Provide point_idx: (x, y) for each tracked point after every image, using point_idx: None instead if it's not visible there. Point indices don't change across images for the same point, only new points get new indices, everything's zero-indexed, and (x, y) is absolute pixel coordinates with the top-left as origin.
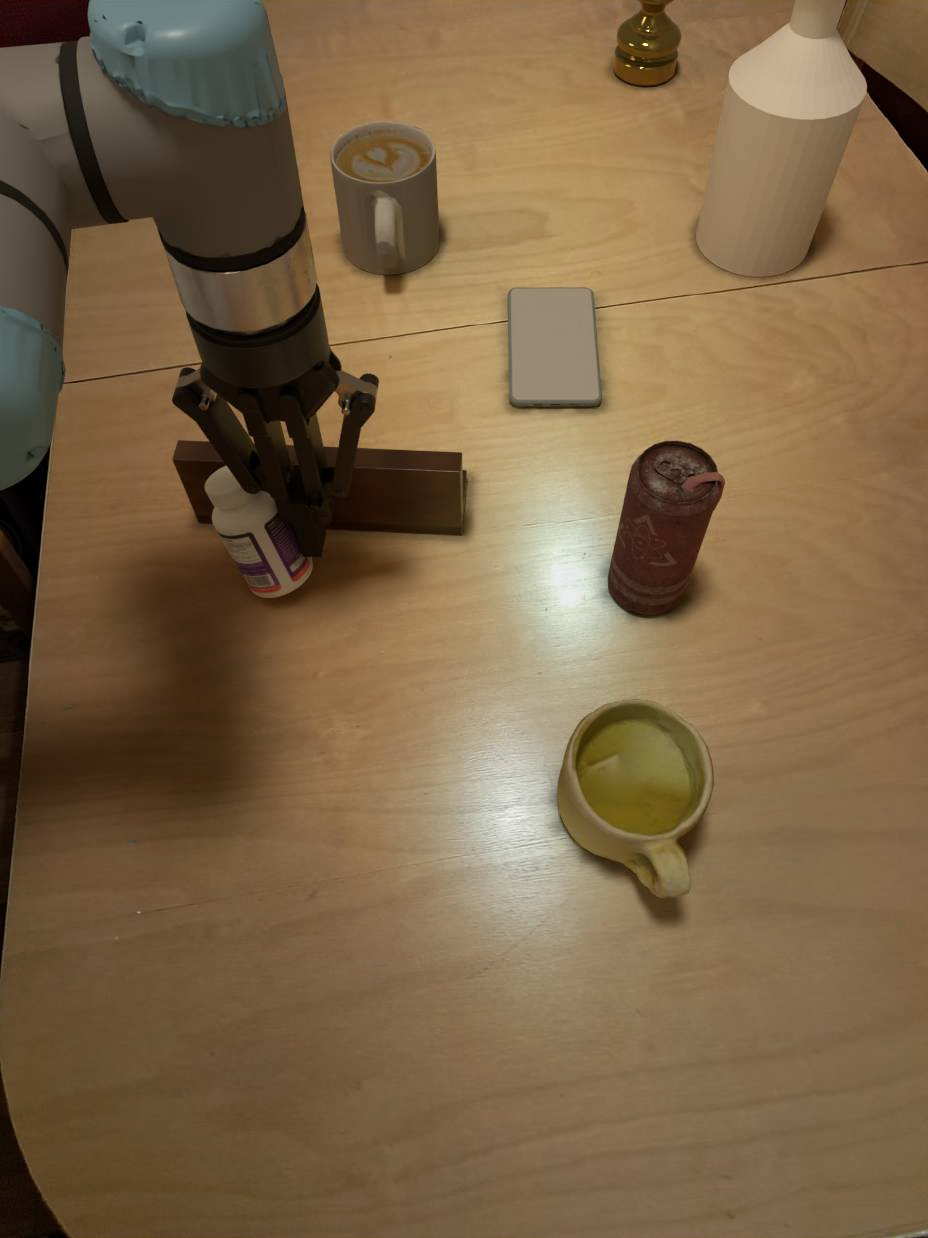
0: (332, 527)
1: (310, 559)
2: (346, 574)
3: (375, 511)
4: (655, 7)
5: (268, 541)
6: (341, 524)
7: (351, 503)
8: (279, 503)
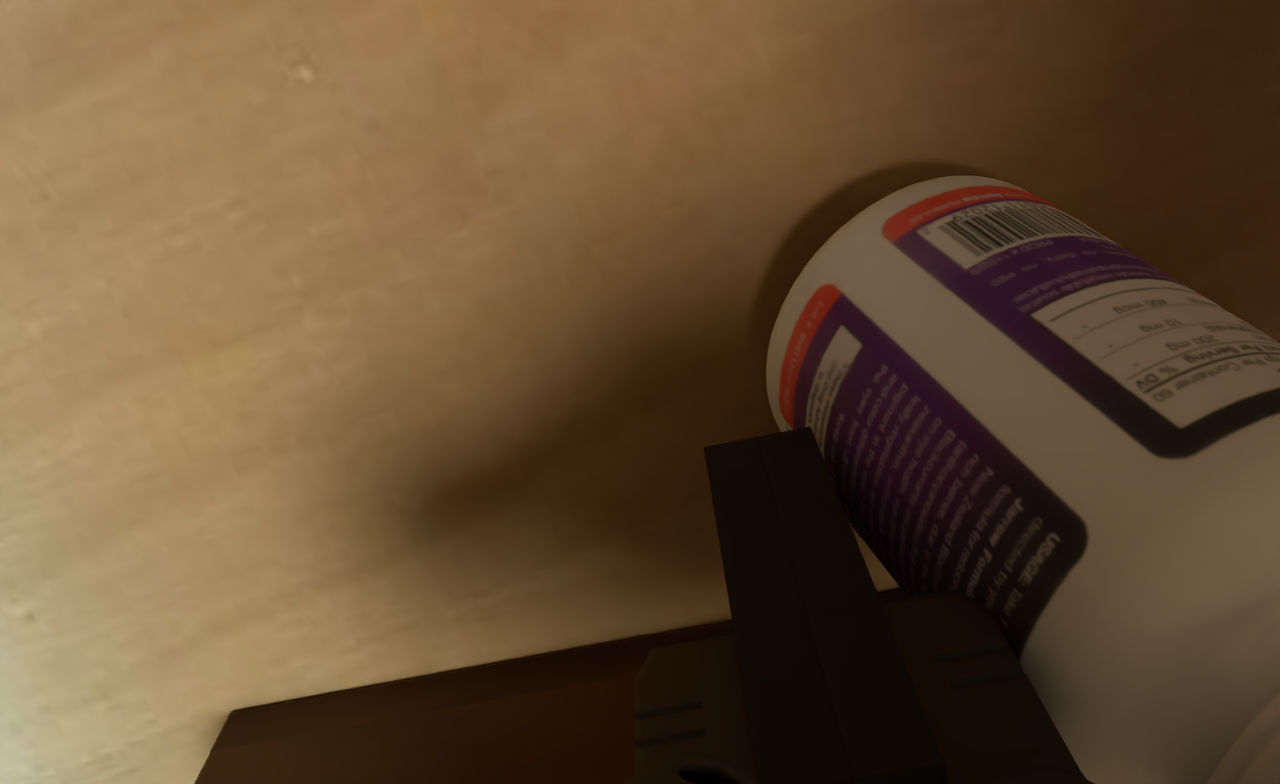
0: None
1: None
2: (631, 424)
3: (564, 745)
4: None
5: (1025, 438)
6: None
7: None
8: (1022, 733)
